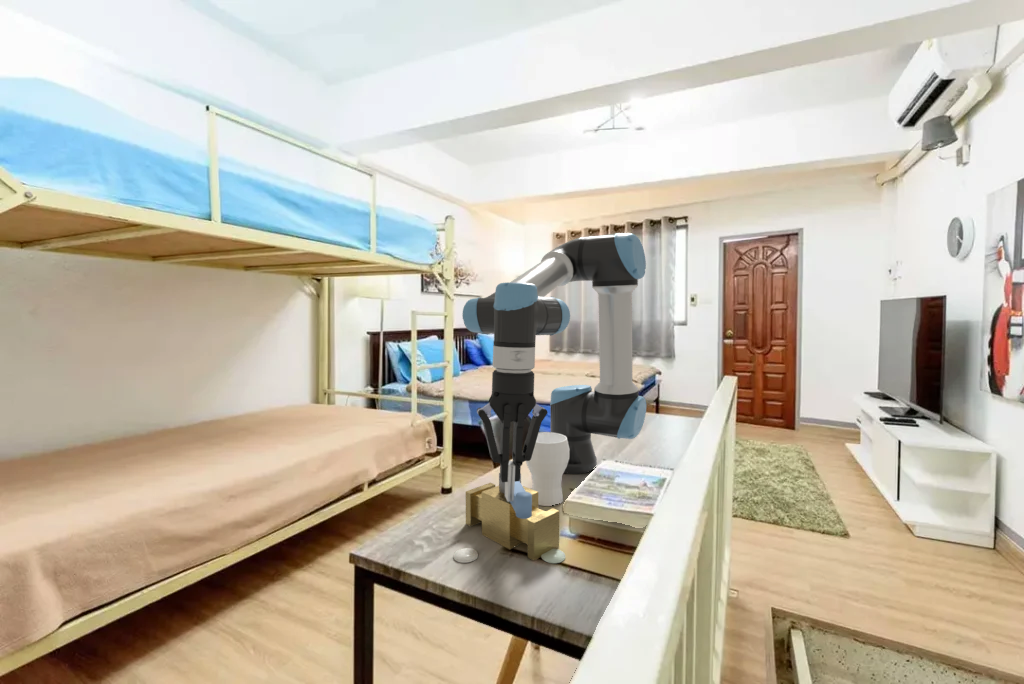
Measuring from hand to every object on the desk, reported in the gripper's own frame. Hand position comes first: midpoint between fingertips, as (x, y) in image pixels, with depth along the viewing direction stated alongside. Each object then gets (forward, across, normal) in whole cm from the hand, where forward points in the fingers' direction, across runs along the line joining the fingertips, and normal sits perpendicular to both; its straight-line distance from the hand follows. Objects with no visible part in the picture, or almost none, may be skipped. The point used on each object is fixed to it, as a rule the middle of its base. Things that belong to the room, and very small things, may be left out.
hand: (509, 498), depth 81 cm
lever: (+1, +2, +2) cm, 3 cm away
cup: (+11, +14, +22) cm, 28 cm away
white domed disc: (+11, -8, +1) cm, 13 cm away
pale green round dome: (+10, +8, -2) cm, 13 cm away
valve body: (+11, +2, +7) cm, 13 cm away
